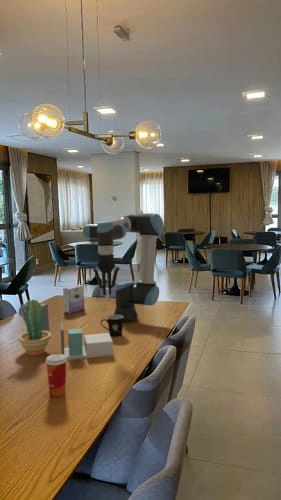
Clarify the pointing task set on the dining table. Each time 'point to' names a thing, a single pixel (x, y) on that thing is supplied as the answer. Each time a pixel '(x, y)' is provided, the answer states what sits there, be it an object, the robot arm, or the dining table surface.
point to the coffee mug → (114, 325)
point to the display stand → (90, 346)
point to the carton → (75, 341)
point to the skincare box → (45, 318)
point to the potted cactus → (33, 329)
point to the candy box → (73, 298)
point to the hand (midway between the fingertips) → (107, 301)
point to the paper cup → (56, 374)
